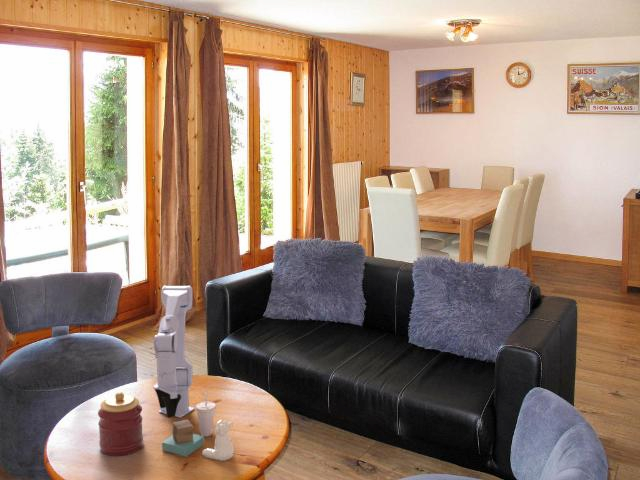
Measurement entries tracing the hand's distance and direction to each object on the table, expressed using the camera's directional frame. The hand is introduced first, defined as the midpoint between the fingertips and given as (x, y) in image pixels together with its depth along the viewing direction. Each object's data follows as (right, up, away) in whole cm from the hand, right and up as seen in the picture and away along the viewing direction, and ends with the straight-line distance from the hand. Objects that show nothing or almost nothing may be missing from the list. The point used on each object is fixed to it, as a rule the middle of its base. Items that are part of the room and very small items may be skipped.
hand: (167, 411), depth 209 cm
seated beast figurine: (+18, -12, -8) cm, 23 cm away
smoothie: (+11, -9, +6) cm, 15 cm away
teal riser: (+6, -10, -3) cm, 12 cm away
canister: (-13, -10, -3) cm, 17 cm away
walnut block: (+6, -8, -3) cm, 10 cm away
